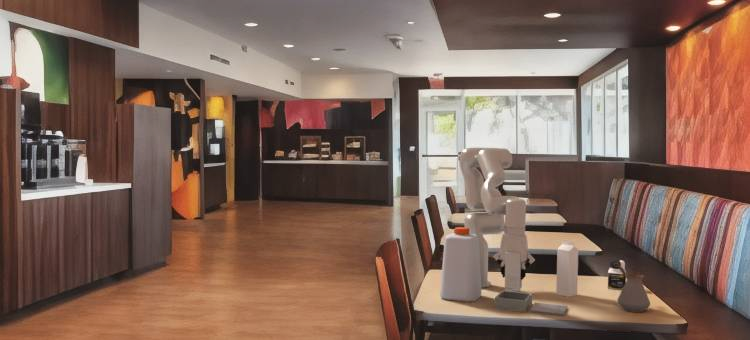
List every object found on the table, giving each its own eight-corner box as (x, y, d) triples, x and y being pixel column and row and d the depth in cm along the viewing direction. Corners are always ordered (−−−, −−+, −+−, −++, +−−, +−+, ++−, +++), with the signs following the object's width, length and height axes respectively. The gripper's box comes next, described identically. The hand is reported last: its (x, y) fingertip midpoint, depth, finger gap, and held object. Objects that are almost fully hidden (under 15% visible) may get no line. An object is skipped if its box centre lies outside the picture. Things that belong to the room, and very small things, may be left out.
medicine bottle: (607, 288, 265) (608, 261, 265) (608, 285, 272) (608, 258, 271) (625, 290, 262) (626, 262, 262) (625, 286, 269) (626, 259, 269)
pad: (529, 312, 226) (529, 309, 226) (535, 304, 237) (535, 302, 237) (563, 316, 221) (563, 313, 221) (567, 308, 232) (567, 306, 232)
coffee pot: (656, 313, 227) (657, 273, 226) (625, 313, 226) (626, 273, 225) (629, 298, 248) (630, 261, 247) (601, 298, 247) (602, 261, 247)
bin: (494, 308, 231) (494, 297, 231) (502, 300, 243) (502, 290, 243) (525, 311, 227) (526, 301, 226) (532, 303, 238) (532, 293, 238)
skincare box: (520, 292, 230) (521, 253, 229) (503, 290, 232) (505, 251, 231) (521, 286, 238) (523, 249, 237) (506, 285, 240) (507, 247, 239)
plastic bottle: (447, 291, 257) (448, 224, 256) (483, 294, 252) (484, 226, 251) (437, 299, 243) (438, 229, 242) (475, 303, 238) (476, 231, 237)
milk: (568, 297, 249) (569, 243, 248) (555, 294, 254) (557, 241, 253) (577, 295, 253) (578, 241, 252) (565, 292, 258) (566, 239, 257)
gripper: (489, 230, 234) (488, 277, 235) (536, 234, 227) (534, 282, 228) (494, 227, 241) (493, 273, 242) (539, 231, 234) (537, 278, 235)
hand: (513, 277), depth 235 cm, fingers closed on skincare box, 6 cm apart
